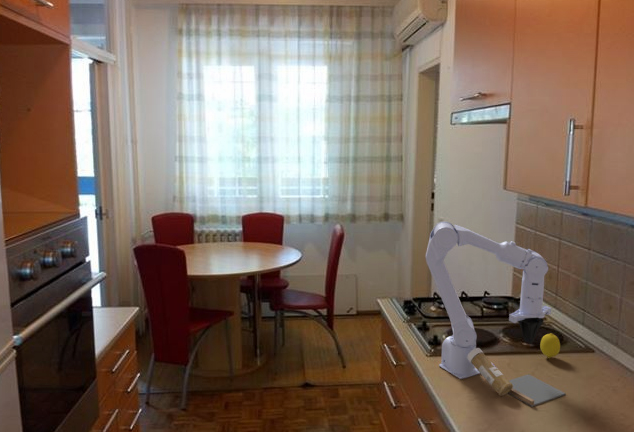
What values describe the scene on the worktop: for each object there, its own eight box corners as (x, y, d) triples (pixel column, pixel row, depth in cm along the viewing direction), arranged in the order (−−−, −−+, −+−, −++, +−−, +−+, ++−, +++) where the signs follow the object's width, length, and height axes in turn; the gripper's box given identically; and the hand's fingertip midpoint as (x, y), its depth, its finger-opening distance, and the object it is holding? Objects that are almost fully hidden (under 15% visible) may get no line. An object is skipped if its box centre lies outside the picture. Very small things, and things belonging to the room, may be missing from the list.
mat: (495, 386, 141) (495, 381, 141) (528, 375, 147) (528, 370, 147) (531, 406, 131) (531, 401, 130) (565, 394, 137) (565, 389, 136)
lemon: (542, 352, 162) (544, 328, 161) (561, 357, 159) (563, 332, 157) (537, 358, 158) (538, 333, 156) (556, 363, 154) (558, 338, 153)
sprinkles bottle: (512, 382, 133) (478, 344, 143) (498, 392, 133) (465, 354, 142) (514, 389, 136) (480, 351, 146) (500, 399, 136) (467, 361, 146)
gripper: (525, 304, 136) (521, 352, 138) (562, 296, 142) (558, 342, 145) (504, 296, 142) (501, 342, 144) (540, 289, 148) (537, 333, 151)
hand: (528, 342), depth 145 cm, fingers closed
